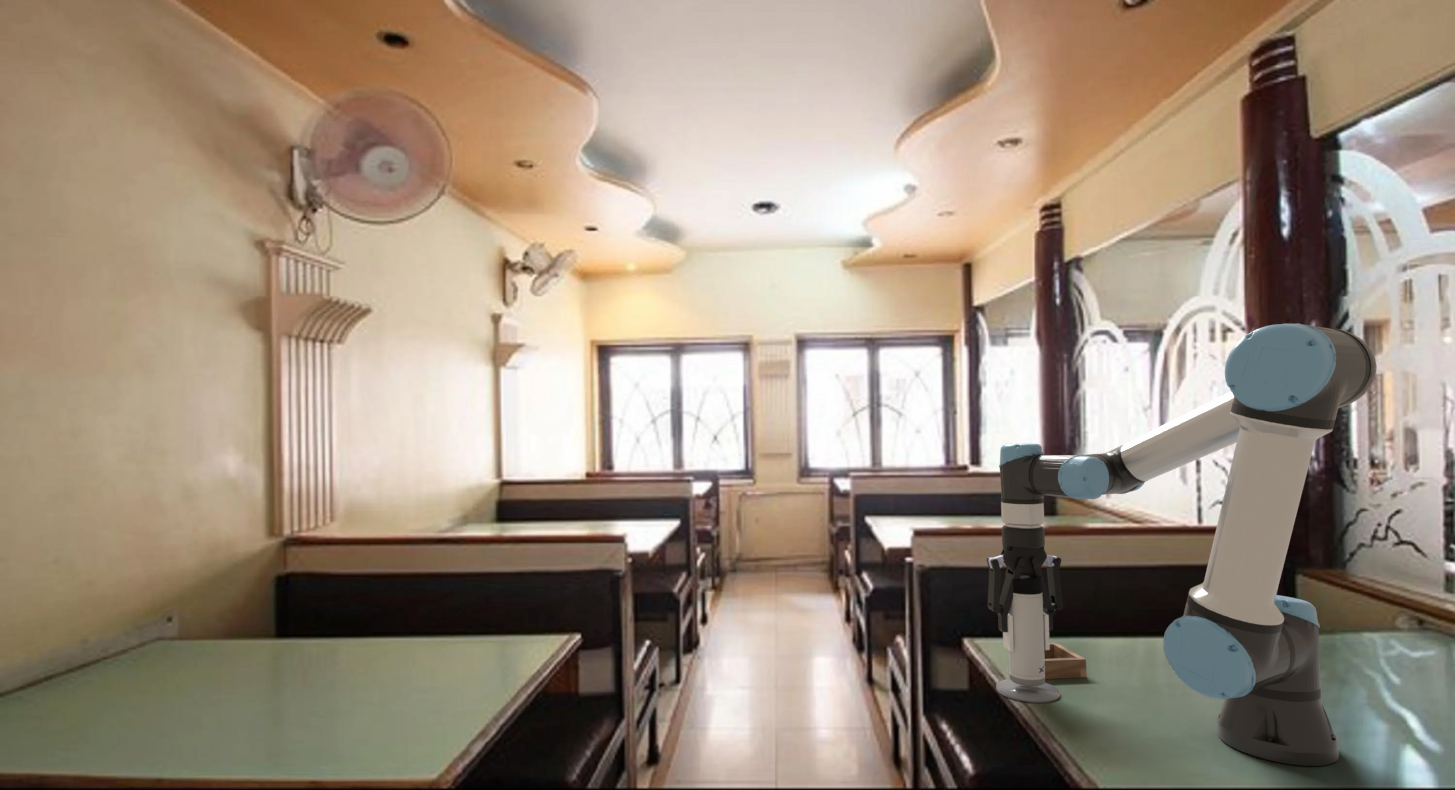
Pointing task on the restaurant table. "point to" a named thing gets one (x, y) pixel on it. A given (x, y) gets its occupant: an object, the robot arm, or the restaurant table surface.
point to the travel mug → (1027, 632)
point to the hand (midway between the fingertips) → (1026, 648)
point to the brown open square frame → (1063, 663)
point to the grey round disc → (1028, 692)
